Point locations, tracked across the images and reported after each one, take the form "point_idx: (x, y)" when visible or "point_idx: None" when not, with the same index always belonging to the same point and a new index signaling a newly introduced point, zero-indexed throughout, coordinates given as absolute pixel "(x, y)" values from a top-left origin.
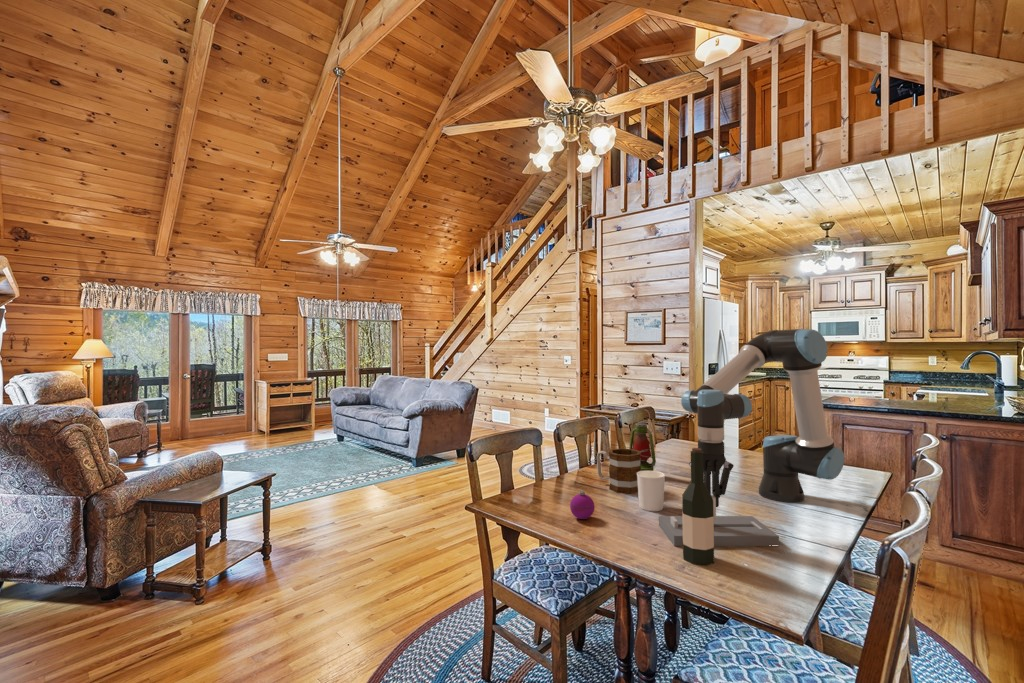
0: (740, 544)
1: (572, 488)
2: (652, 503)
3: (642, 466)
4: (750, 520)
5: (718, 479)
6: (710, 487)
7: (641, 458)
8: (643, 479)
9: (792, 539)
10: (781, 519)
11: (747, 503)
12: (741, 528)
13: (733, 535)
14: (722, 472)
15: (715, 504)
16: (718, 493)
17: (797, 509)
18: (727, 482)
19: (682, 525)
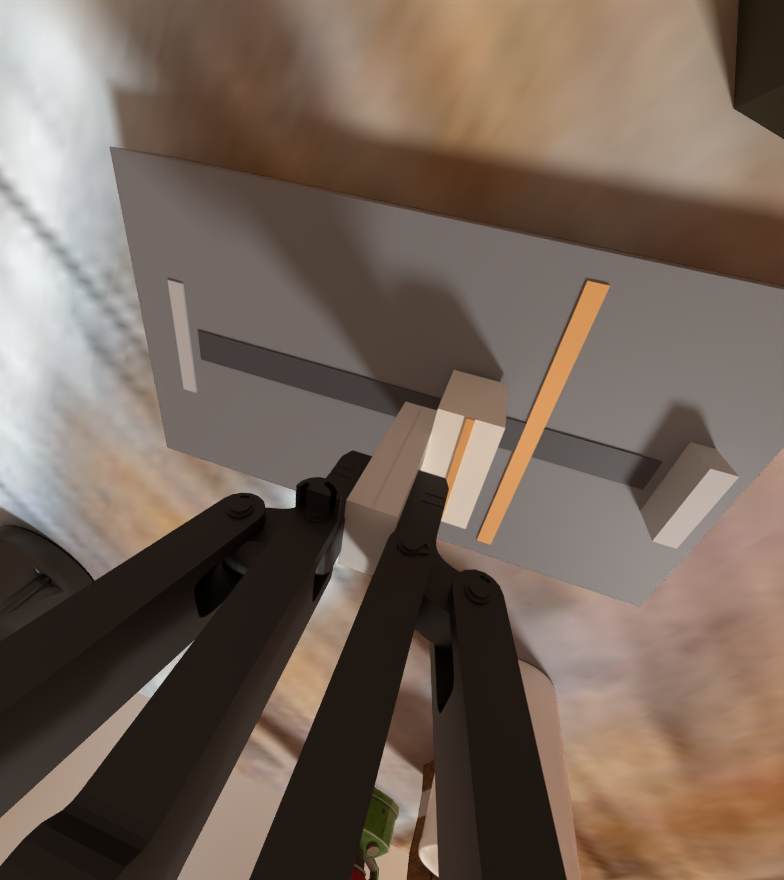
0: (367, 198)
1: (671, 870)
2: (529, 697)
3: (361, 837)
4: (191, 407)
5: (163, 699)
6: (358, 620)
7: (353, 876)
8: (576, 876)
9: (81, 240)
10: (81, 438)
11: None
12: (279, 322)
13: (388, 218)
14: (3, 806)
15: (373, 459)
16: (295, 522)
17: (21, 485)
18: (78, 594)
19: (622, 461)
